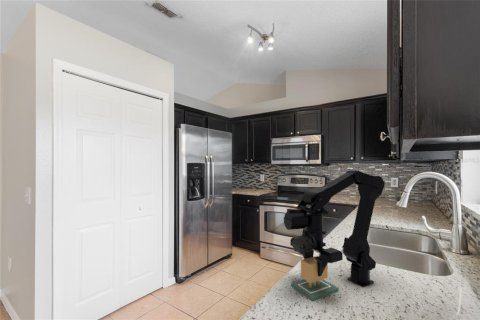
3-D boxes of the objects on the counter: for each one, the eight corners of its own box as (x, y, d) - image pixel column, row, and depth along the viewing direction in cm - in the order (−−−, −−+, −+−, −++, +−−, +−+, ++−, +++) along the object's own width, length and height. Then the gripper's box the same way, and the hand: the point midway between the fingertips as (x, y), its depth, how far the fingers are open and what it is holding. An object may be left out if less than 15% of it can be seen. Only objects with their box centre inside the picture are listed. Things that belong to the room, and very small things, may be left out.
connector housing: (317, 272, 83) (317, 255, 83) (327, 277, 79) (327, 260, 79) (300, 277, 79) (300, 259, 79) (310, 283, 75) (310, 264, 76)
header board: (315, 278, 86) (315, 267, 87) (338, 291, 78) (338, 279, 78) (291, 286, 81) (291, 274, 81) (312, 301, 72) (312, 288, 72)
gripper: (278, 224, 84) (278, 267, 84) (317, 238, 68) (318, 292, 67) (301, 220, 89) (302, 261, 89) (343, 233, 73) (343, 283, 73)
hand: (314, 273), depth 79 cm, fingers closed on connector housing, 4 cm apart
